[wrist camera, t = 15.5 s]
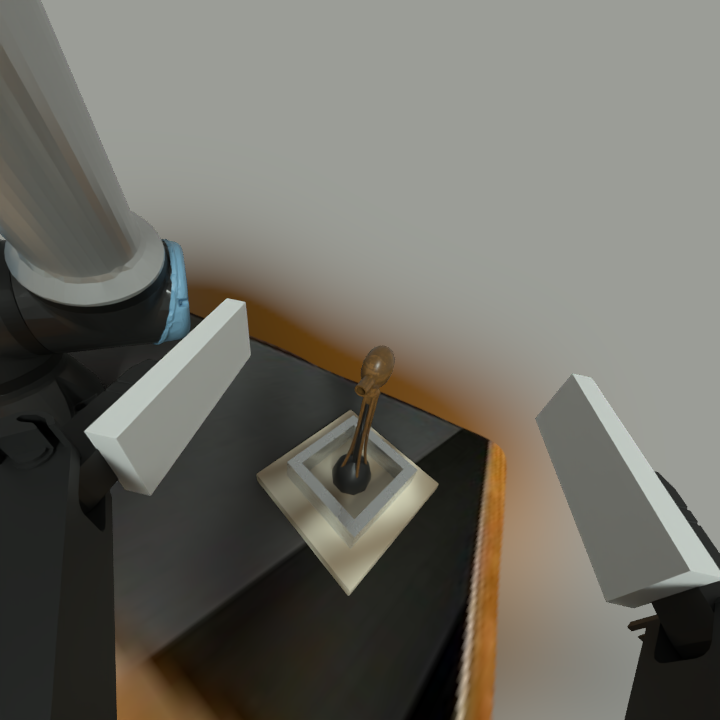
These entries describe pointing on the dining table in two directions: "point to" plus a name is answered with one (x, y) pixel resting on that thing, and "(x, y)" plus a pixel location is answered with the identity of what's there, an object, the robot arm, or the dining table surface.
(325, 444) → the collar
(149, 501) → the dining table surface
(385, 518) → the stand
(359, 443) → the wooden tabletop sculpture
